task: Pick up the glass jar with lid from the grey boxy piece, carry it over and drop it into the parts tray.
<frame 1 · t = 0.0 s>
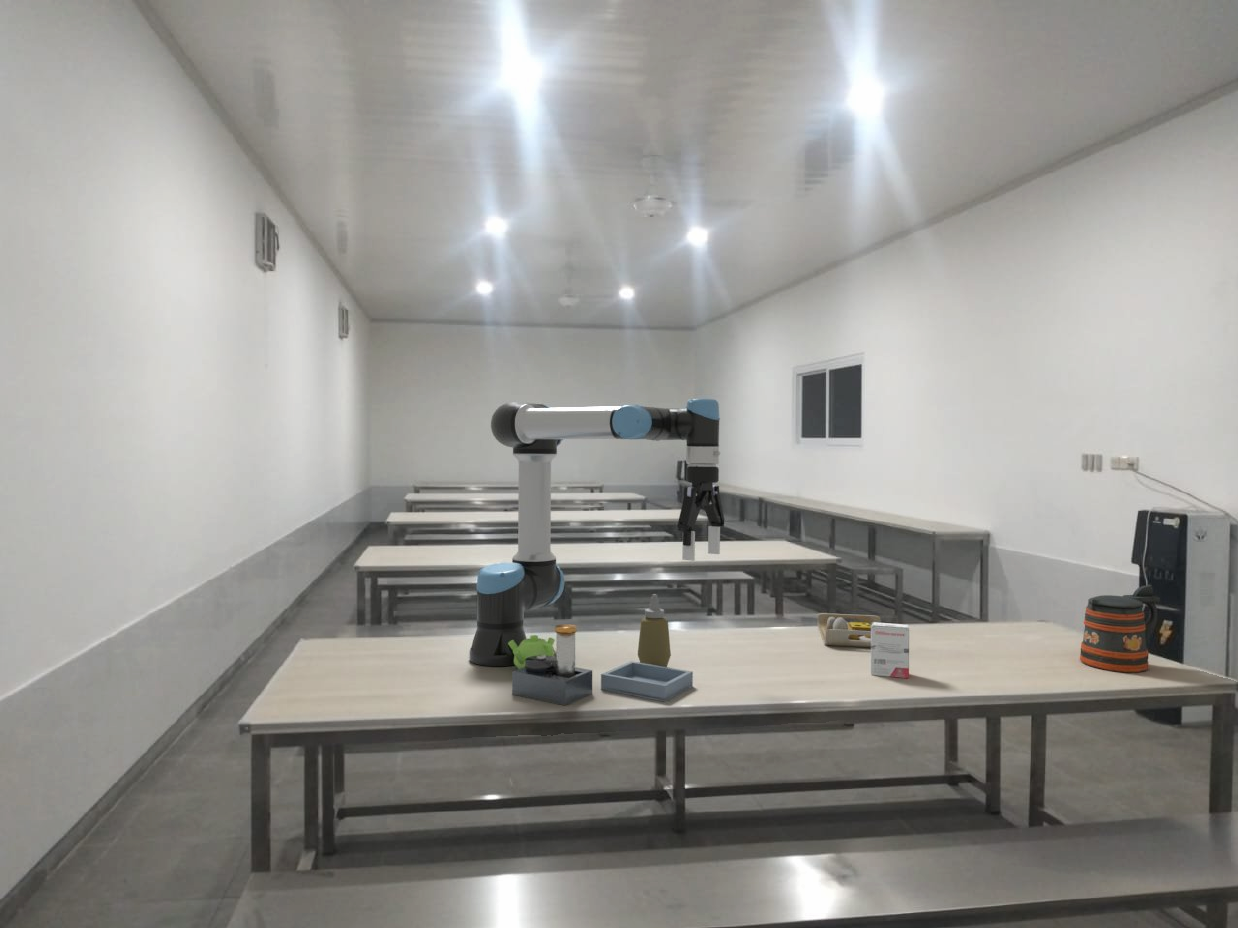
hand: (701, 556, 185), 28 cm above the table, fingers open, 13 cm apart
beer stein: (1120, 665, 199), on the table
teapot: (531, 671, 190), on the table
grey boxy piece: (552, 693, 172), on the table
glass jar with lid: (565, 696, 170), resting in grey boxy piece
parts tray: (647, 687, 177), on the table
toy food set: (854, 640, 225), on the table
squeeze bottle: (654, 669, 192), on the table
ink box: (889, 674, 189), on the table
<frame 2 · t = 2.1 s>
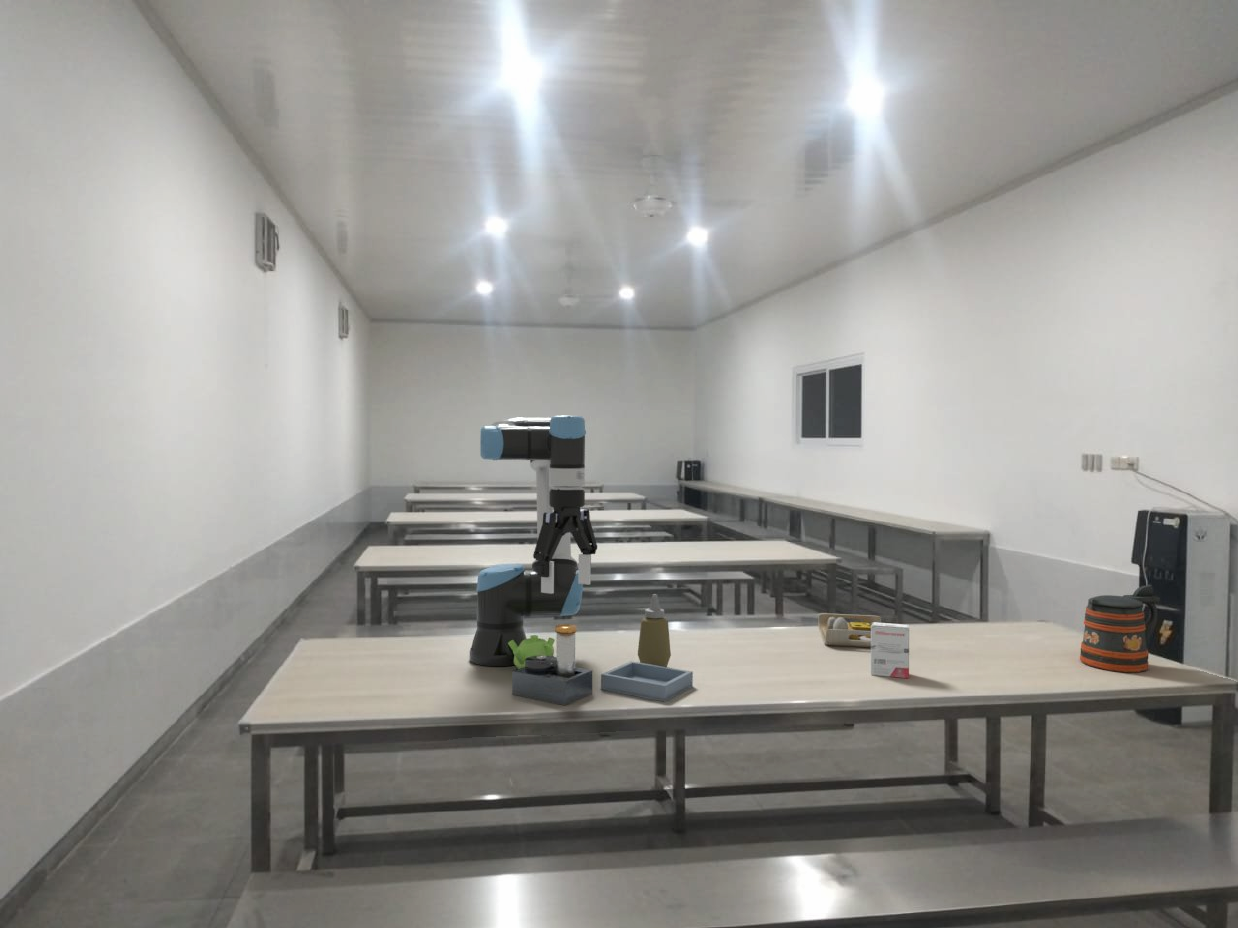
hand: (566, 588, 169), 23 cm above the table, fingers open, 13 cm apart
nothing on the table moved.
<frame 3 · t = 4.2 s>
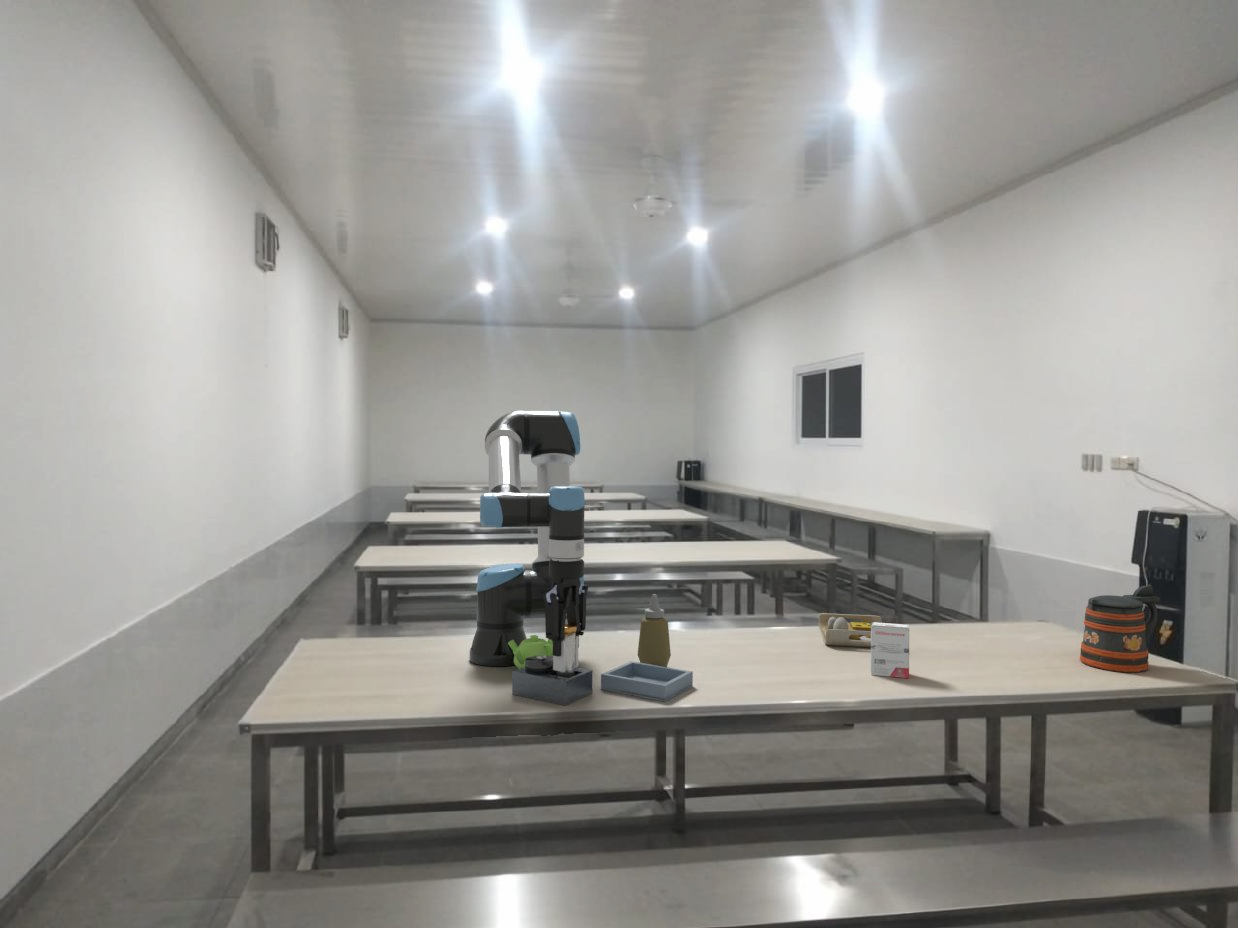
hand: (565, 667, 170), 6 cm above the table, fingers closed on glass jar with lid, 4 cm apart
glass jar with lid: (565, 696, 170), resting in grey boxy piece, touching gripper
everything else where it was.
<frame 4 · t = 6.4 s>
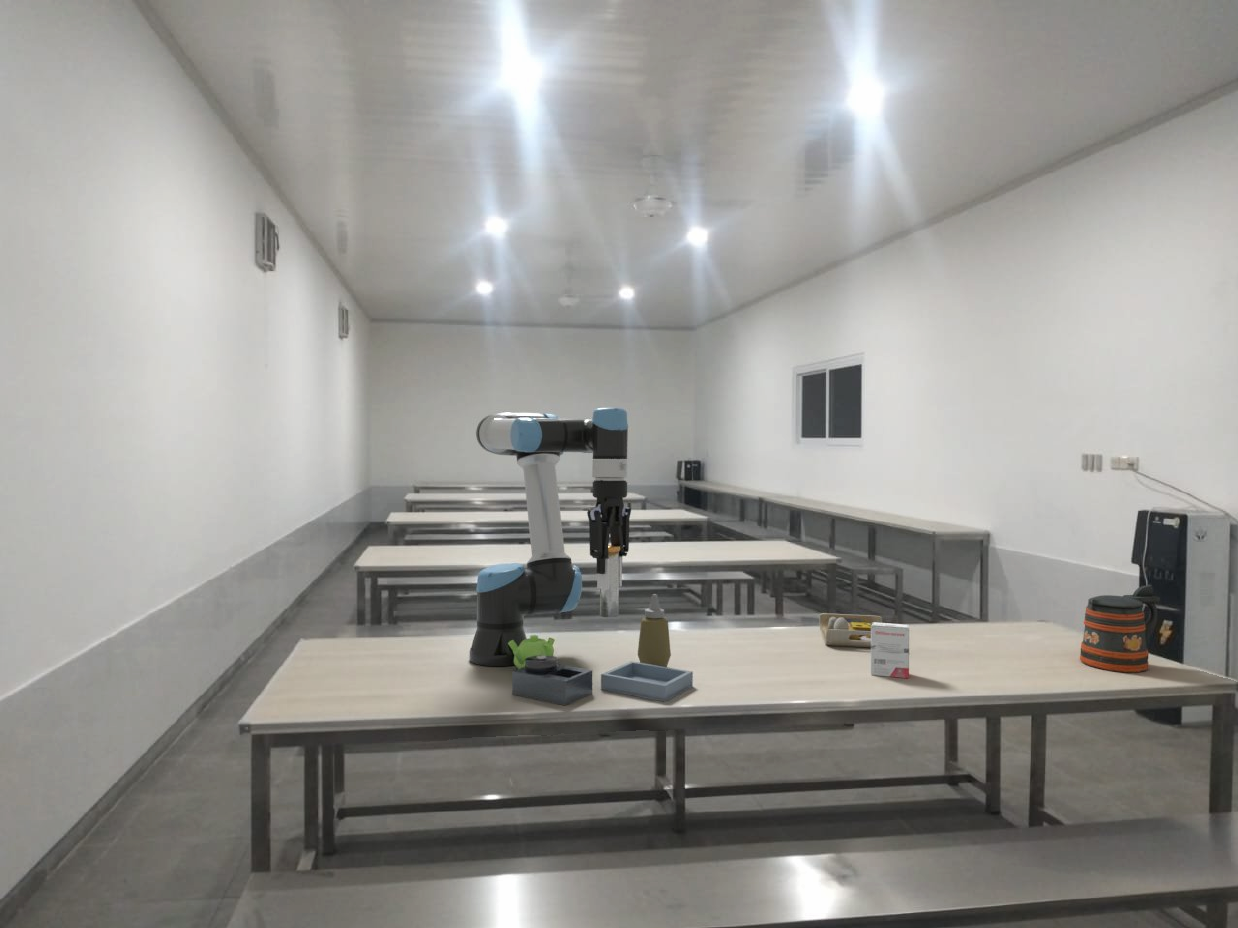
hand: (609, 587, 172), 23 cm above the table, fingers closed on glass jar with lid, 4 cm apart
glass jar with lid: (609, 615, 172), point 17 cm above the table, touching gripper
everything else where it was.
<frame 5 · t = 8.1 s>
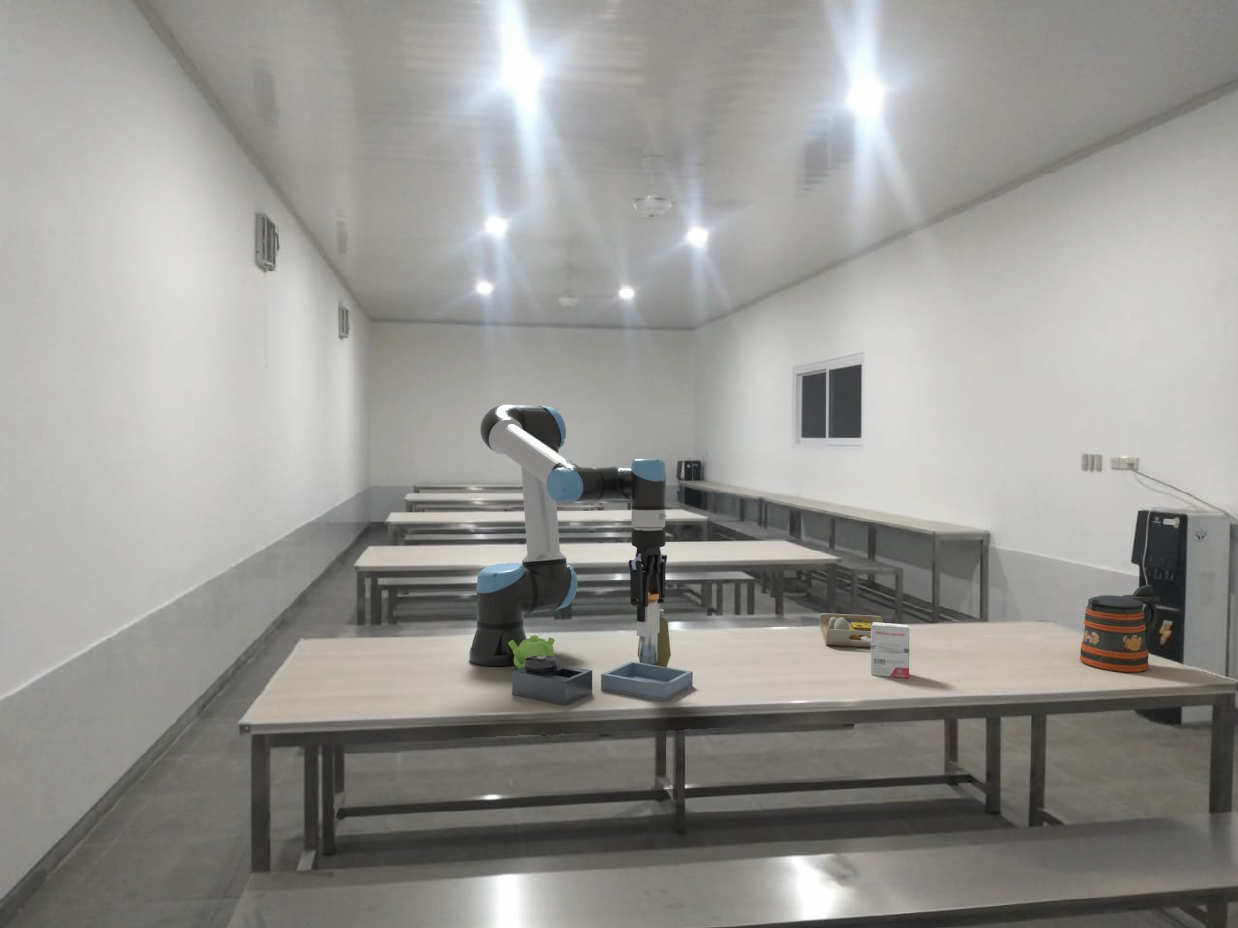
hand: (648, 633, 176), 12 cm above the table, fingers closed on glass jar with lid, 4 cm apart
glass jar with lid: (648, 661, 176), point 6 cm above the table, touching gripper
everything else where it was.
when the fingers open (8 cm above the table, at t = 8.9 s): glass jar with lid stays where it is, resting on parts tray.
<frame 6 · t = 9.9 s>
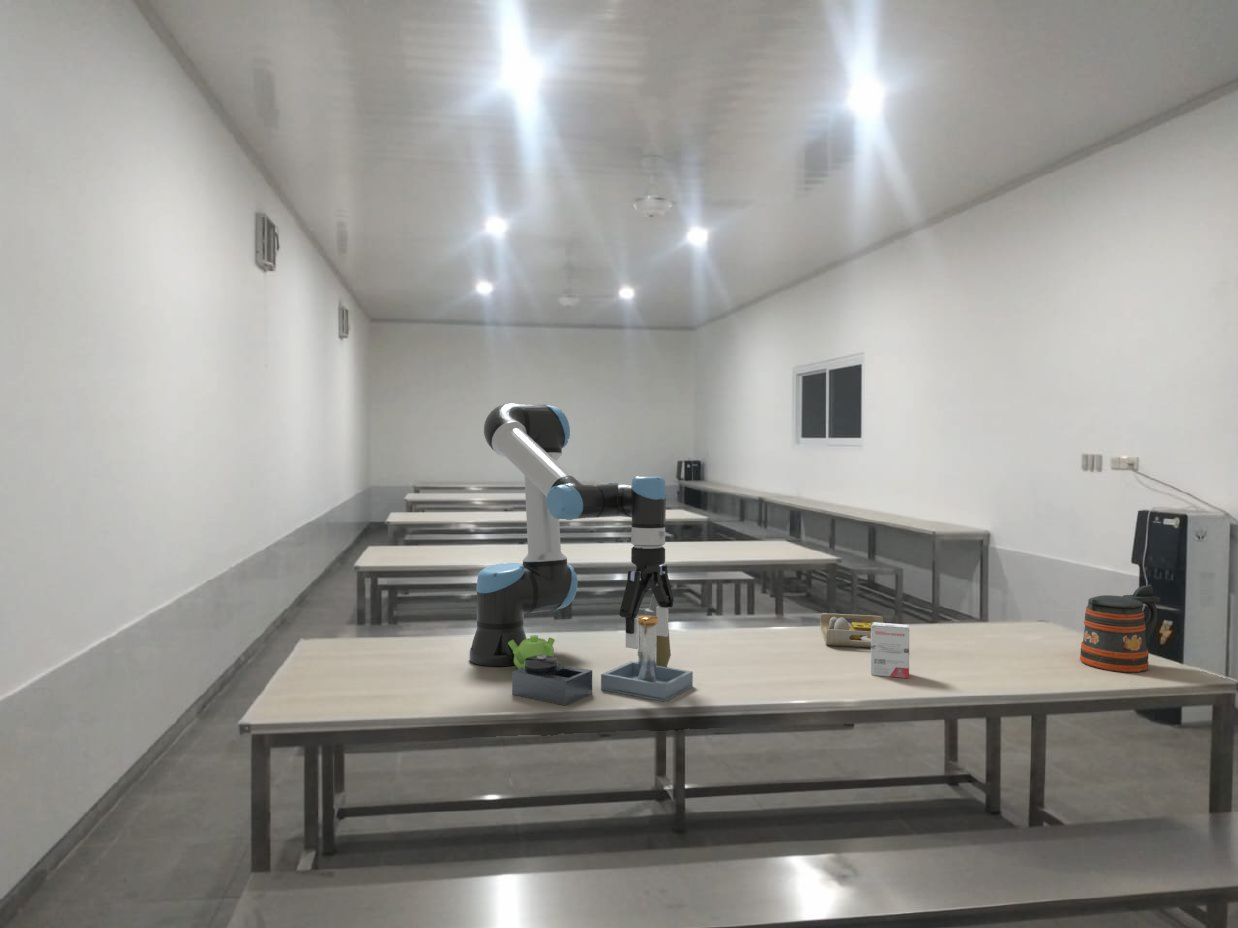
hand: (647, 641, 176), 10 cm above the table, fingers open, 13 cm apart
glass jar with lid: (647, 684, 177), point 1 cm above the table, touching parts tray
everything else where it was.
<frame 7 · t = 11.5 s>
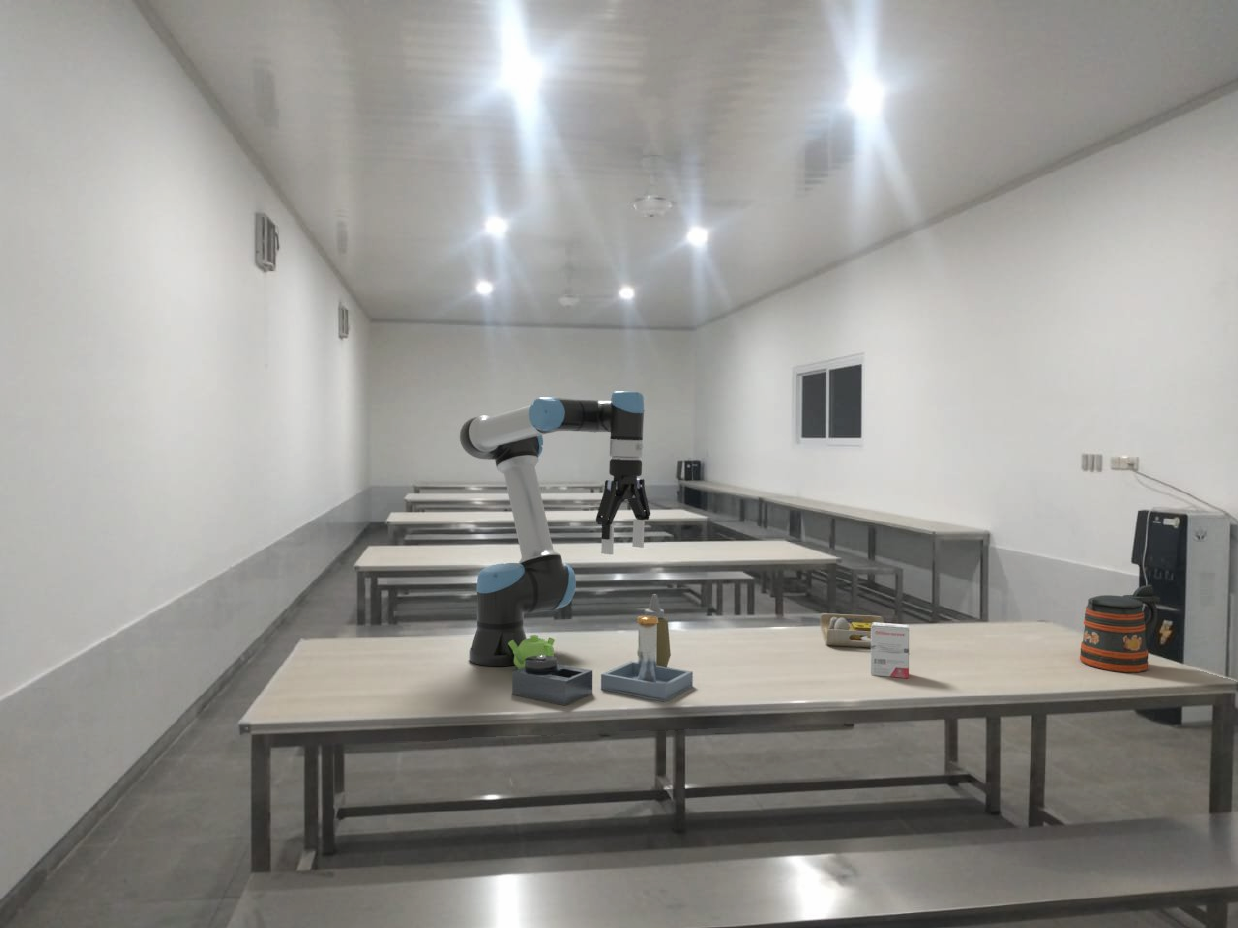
hand: (623, 550, 184), 29 cm above the table, fingers open, 13 cm apart
nothing on the table moved.
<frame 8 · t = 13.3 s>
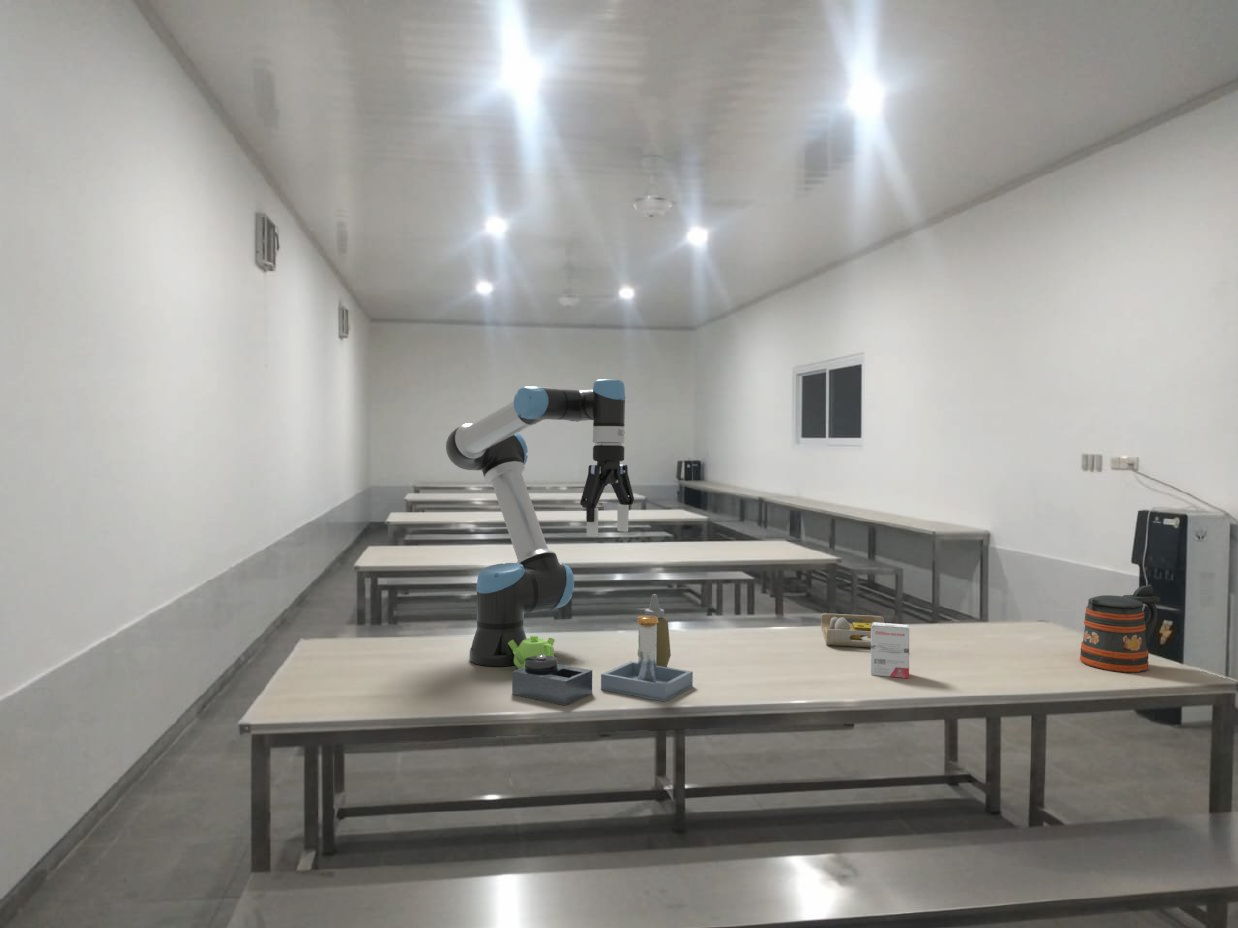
hand: (608, 533, 190), 33 cm above the table, fingers open, 13 cm apart
nothing on the table moved.
at the end: glass jar with lid inside the target area on the parts tray (0.0 cm from its centre), point 0.6 cm above the parts tray's base; the gripper is holding nothing; glass jar with lid moved 18.9 cm from its start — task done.
